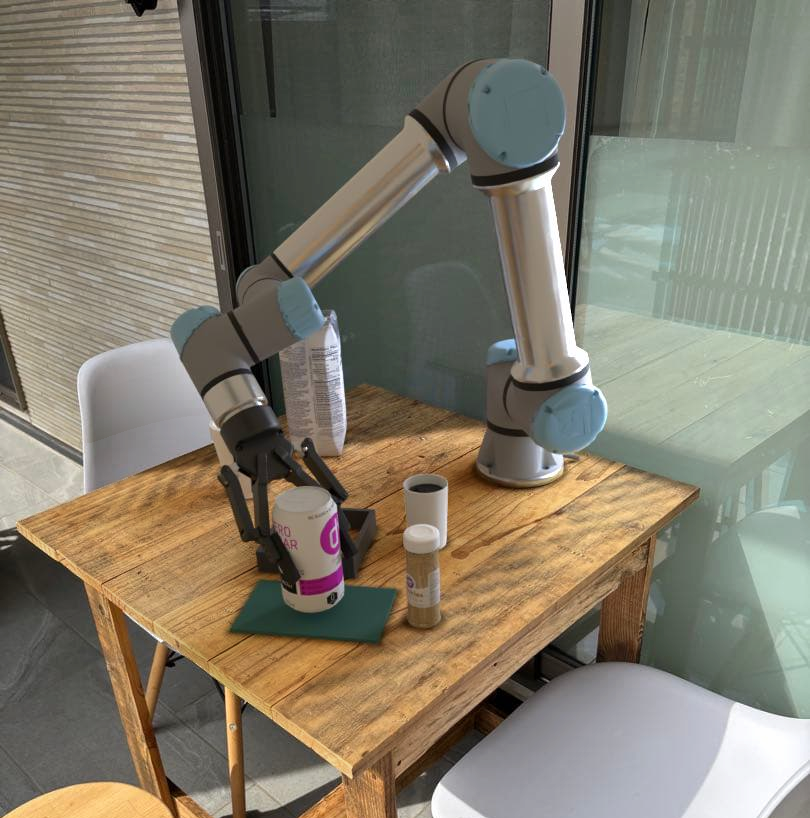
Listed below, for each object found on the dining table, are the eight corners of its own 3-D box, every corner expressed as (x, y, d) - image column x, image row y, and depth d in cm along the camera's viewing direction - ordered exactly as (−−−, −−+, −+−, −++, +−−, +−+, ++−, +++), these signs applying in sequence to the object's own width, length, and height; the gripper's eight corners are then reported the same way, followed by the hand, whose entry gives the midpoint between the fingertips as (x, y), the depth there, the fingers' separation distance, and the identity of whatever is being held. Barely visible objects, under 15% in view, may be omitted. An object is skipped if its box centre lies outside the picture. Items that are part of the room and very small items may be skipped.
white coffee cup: (418, 557, 126) (416, 498, 121) (398, 538, 131) (395, 480, 126) (457, 545, 128) (456, 486, 123) (436, 527, 134) (434, 469, 129)
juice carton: (346, 458, 157) (333, 313, 144) (290, 460, 158) (272, 316, 144) (349, 439, 165) (337, 299, 152) (295, 441, 166) (279, 302, 152)
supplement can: (353, 585, 116) (345, 487, 108) (329, 619, 109) (319, 518, 102) (300, 577, 118) (288, 480, 111) (273, 610, 112) (258, 509, 104)
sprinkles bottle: (400, 621, 112) (395, 533, 105) (422, 606, 115) (418, 519, 108) (427, 634, 109) (423, 544, 103) (448, 617, 112) (446, 529, 106)
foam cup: (280, 478, 151) (271, 410, 145) (268, 503, 143) (258, 431, 137) (229, 478, 152) (217, 410, 146) (214, 502, 144) (201, 432, 138)
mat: (397, 592, 118) (396, 588, 118) (378, 644, 108) (378, 640, 108) (260, 582, 122) (260, 579, 122) (230, 632, 112) (229, 628, 111)
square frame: (376, 528, 134) (375, 509, 132) (355, 578, 122) (353, 557, 120) (288, 523, 137) (286, 504, 135) (258, 572, 124) (255, 551, 123)
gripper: (301, 410, 120) (377, 549, 117) (165, 453, 109) (245, 609, 106) (319, 383, 114) (400, 530, 111) (176, 426, 103) (261, 591, 100)
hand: (324, 568), depth 109 cm, fingers closed on supplement can, 8 cm apart
